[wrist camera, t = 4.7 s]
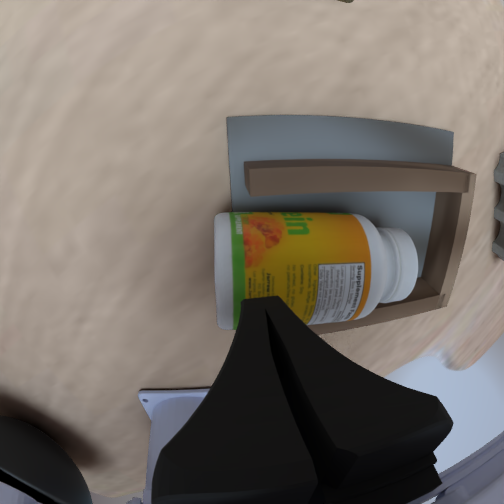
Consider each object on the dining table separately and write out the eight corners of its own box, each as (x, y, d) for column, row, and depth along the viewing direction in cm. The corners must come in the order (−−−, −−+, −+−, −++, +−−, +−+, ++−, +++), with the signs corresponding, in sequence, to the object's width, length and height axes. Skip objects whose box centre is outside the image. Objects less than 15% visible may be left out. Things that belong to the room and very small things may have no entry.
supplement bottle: (213, 202, 15) (380, 205, 16) (216, 295, 17) (367, 287, 18) (213, 230, 10) (437, 230, 11) (218, 354, 12) (412, 332, 13)
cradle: (418, 308, 21) (438, 330, 18) (242, 338, 20) (247, 371, 17) (447, 131, 15) (479, 137, 12) (226, 117, 14) (229, 115, 11)
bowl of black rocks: (-45, 366, 19) (-94, 469, 2) (68, 402, 22) (33, 565, 5) (18, 447, 27) (-3, 530, 10) (119, 475, 30) (113, 578, 13)
